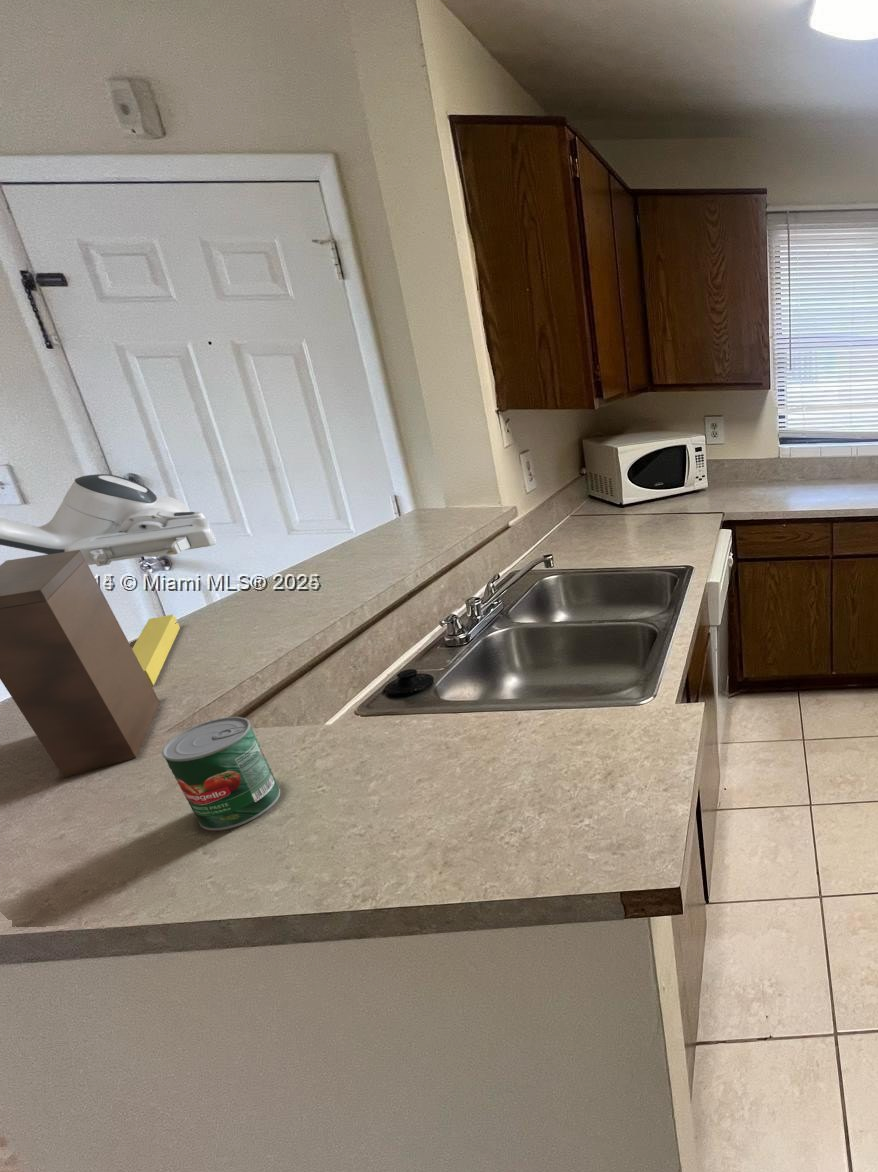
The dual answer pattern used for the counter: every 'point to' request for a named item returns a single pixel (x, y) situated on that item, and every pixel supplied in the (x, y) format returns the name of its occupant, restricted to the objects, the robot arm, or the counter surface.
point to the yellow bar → (155, 644)
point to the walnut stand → (71, 663)
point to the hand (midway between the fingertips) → (136, 556)
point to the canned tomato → (222, 772)
